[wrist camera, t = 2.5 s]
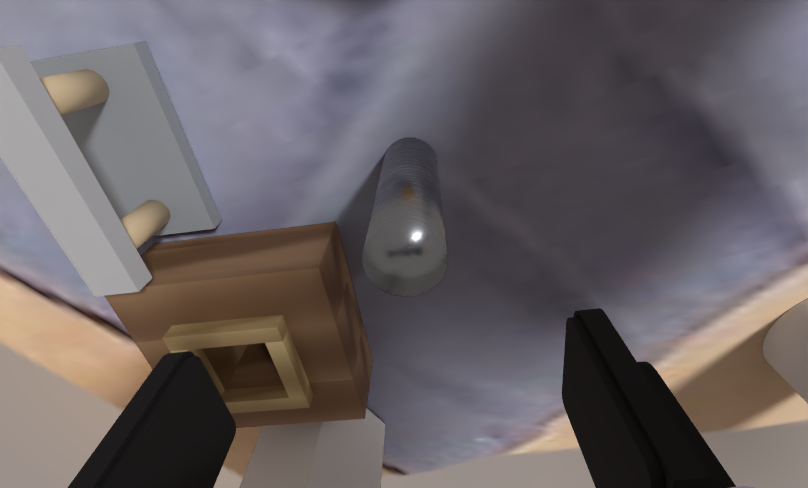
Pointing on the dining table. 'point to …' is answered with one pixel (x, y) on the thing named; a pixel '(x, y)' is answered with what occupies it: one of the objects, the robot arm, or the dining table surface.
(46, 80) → the peg rack
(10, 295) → the dining table surface
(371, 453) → the milk carton
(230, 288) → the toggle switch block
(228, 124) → the dining table surface
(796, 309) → the light grey cylinder
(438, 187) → the pin
